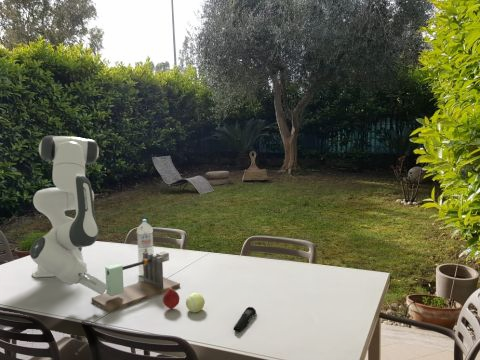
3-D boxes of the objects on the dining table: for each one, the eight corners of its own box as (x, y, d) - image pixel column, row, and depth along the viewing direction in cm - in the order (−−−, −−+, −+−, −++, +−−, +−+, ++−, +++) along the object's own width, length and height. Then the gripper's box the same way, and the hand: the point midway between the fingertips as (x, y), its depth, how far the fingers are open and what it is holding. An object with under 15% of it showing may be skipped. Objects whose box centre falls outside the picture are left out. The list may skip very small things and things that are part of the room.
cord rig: (110, 312, 140) (108, 274, 139) (91, 301, 150) (89, 265, 148) (179, 287, 163) (178, 253, 161) (159, 278, 172) (158, 247, 171)
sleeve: (111, 296, 146) (110, 269, 145) (106, 293, 148) (105, 266, 147) (123, 292, 150) (122, 265, 148) (118, 289, 152) (117, 263, 151)
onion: (182, 306, 144) (181, 285, 143) (174, 313, 139) (174, 291, 138) (168, 304, 146) (167, 283, 145) (160, 311, 141) (159, 289, 140)
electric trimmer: (230, 334, 125) (230, 324, 125) (246, 312, 140) (246, 304, 139) (241, 336, 124) (241, 326, 124) (257, 314, 138) (257, 305, 138)
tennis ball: (196, 287, 145) (182, 293, 140) (209, 294, 141) (195, 300, 136) (194, 303, 146) (181, 310, 141) (207, 311, 142) (194, 317, 137)
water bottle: (156, 272, 181) (154, 218, 178) (151, 277, 174) (149, 221, 171) (141, 271, 182) (139, 218, 179) (136, 277, 175) (134, 221, 172)
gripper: (93, 269, 131) (121, 289, 139) (66, 257, 145) (93, 275, 153) (81, 286, 128) (110, 305, 136) (54, 272, 142) (82, 290, 150)
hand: (101, 289), depth 145 cm, fingers closed
